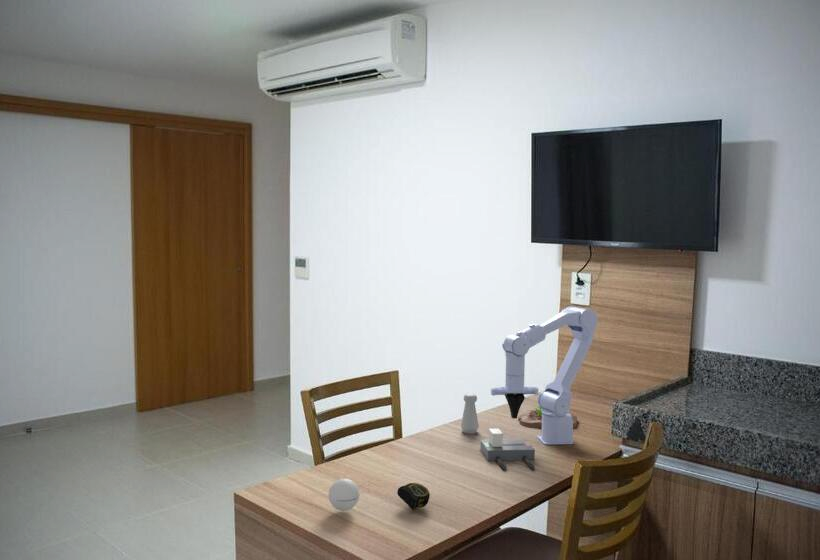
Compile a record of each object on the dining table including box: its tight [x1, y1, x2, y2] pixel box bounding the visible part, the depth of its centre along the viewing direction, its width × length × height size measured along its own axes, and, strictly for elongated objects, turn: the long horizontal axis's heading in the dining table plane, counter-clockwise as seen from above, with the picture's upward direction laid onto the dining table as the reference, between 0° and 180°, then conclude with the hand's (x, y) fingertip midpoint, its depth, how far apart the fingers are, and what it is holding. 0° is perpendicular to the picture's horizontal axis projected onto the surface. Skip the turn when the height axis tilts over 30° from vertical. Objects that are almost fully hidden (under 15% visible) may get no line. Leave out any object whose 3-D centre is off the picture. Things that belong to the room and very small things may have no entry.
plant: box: [517, 405, 578, 430], centre depth 236 cm, size 20×20×11 cm
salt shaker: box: [460, 393, 480, 435], centre depth 223 cm, size 6×6×13 cm
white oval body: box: [328, 478, 371, 512], centre depth 160 cm, size 10×7×7 cm
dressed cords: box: [495, 456, 535, 471], centre depth 193 cm, size 9×9×1 cm
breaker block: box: [480, 438, 536, 462], centre depth 202 cm, size 14×10×3 cm
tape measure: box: [397, 482, 431, 510], centre depth 164 cm, size 7×7×4 cm
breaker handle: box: [488, 428, 504, 447], centre depth 201 cm, size 3×5×4 cm, turn 6°
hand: (514, 417), depth 209 cm, fingers closed
